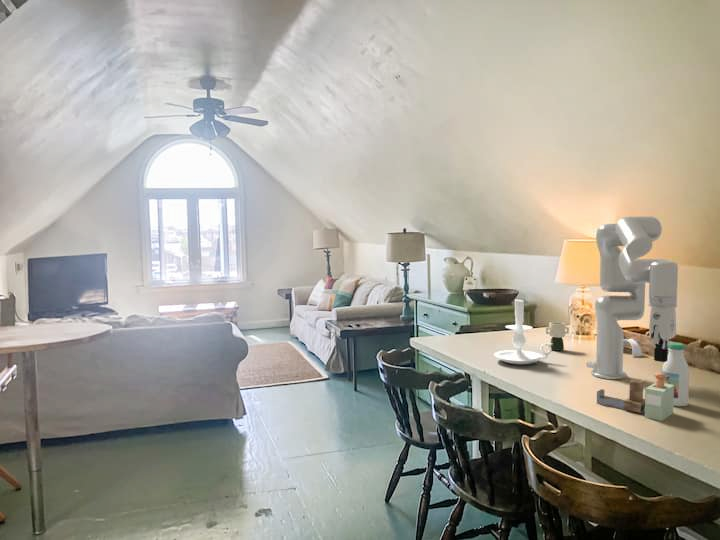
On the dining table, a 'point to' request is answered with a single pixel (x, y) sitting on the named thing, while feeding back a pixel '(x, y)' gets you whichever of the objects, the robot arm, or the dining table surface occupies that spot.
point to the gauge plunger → (660, 380)
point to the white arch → (633, 347)
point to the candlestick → (520, 341)
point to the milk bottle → (677, 373)
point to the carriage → (635, 397)
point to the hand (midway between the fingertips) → (660, 360)
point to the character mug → (557, 334)
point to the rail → (612, 401)
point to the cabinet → (659, 401)
